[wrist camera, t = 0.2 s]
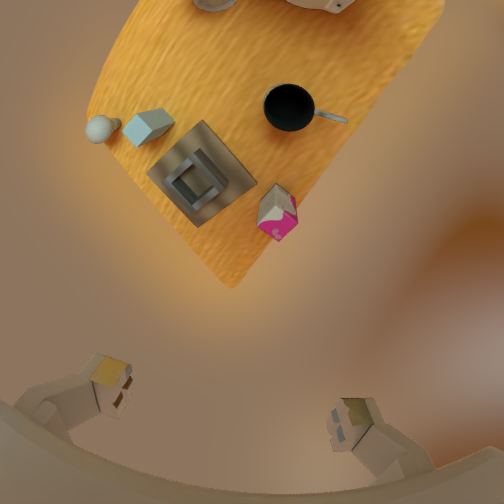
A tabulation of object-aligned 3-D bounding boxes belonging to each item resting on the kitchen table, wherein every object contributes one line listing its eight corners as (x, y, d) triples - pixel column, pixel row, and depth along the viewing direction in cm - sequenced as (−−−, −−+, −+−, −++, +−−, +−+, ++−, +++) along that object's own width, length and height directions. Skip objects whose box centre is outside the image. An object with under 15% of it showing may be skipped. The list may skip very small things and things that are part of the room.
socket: (202, 119, 51) (194, 123, 46) (257, 182, 58) (255, 192, 53) (147, 172, 58) (136, 180, 53) (198, 226, 65) (191, 238, 60)
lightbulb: (133, 122, 51) (107, 131, 42) (118, 140, 54) (91, 152, 44) (118, 105, 49) (90, 111, 40) (103, 123, 51) (75, 133, 42)
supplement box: (258, 201, 60) (255, 225, 51) (276, 182, 57) (276, 203, 48) (278, 216, 62) (278, 243, 52) (296, 198, 59) (300, 222, 49)
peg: (162, 107, 49) (136, 113, 39) (175, 121, 51) (152, 130, 41) (148, 121, 51) (121, 131, 41) (161, 135, 53) (136, 147, 43)
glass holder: (267, 80, 45) (264, 75, 33) (337, 95, 45) (358, 97, 33) (260, 120, 50) (254, 129, 38) (328, 134, 50) (346, 149, 38)
